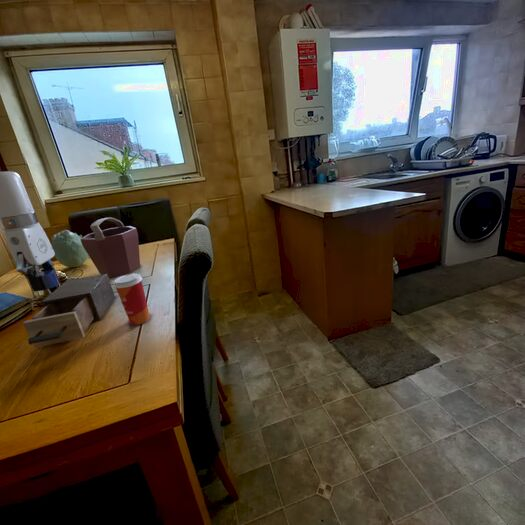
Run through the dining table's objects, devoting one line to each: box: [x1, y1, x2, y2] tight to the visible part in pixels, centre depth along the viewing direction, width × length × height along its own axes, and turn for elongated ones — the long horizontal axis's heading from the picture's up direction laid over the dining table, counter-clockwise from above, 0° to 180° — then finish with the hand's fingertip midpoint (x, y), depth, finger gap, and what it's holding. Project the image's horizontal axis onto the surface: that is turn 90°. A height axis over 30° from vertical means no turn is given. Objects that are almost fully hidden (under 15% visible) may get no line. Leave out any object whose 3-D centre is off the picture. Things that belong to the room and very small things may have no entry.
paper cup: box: [113, 273, 151, 326], centre depth 82 cm, size 8×8×14 cm
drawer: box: [22, 295, 96, 348], centre depth 80 cm, size 20×12×8 cm, turn 12°
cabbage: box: [51, 229, 90, 268], centre depth 144 cm, size 16×19×20 cm
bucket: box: [80, 216, 141, 278], centre depth 128 cm, size 24×22×25 cm
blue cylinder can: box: [39, 270, 60, 292], centre depth 77 cm, size 6×6×4 cm
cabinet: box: [41, 274, 116, 322], centre depth 93 cm, size 17×14×10 cm
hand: (46, 284), depth 78 cm, fingers closed on blue cylinder can, 5 cm apart
